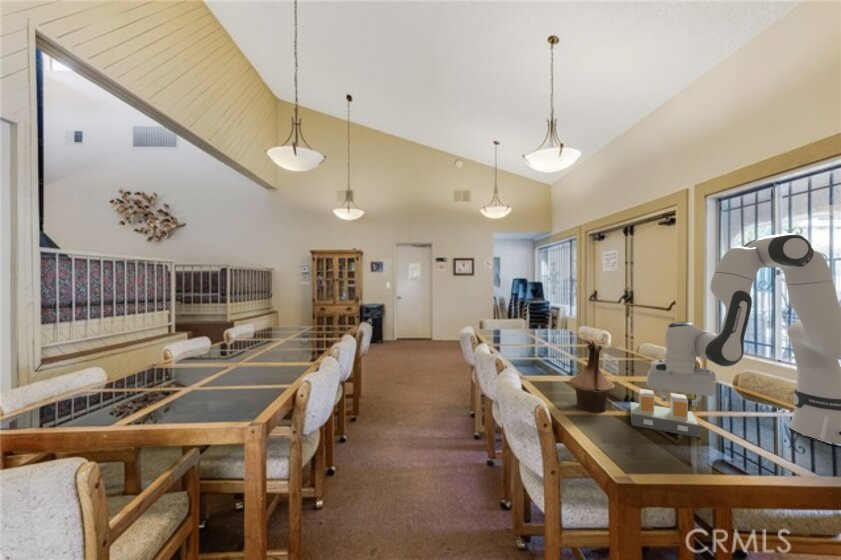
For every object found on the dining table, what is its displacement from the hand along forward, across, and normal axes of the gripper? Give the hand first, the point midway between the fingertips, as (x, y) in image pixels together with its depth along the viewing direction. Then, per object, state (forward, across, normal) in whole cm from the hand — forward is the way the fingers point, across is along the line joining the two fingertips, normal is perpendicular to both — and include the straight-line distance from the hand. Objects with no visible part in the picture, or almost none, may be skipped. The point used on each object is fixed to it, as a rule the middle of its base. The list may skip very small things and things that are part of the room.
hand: (678, 403), depth 131 cm
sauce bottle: (+8, -8, -31) cm, 33 cm away
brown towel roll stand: (+8, +29, -1) cm, 30 cm away
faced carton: (+4, +10, 0) cm, 11 cm away
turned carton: (+4, 0, 0) cm, 4 cm away
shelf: (+8, +5, +1) cm, 9 cm away
